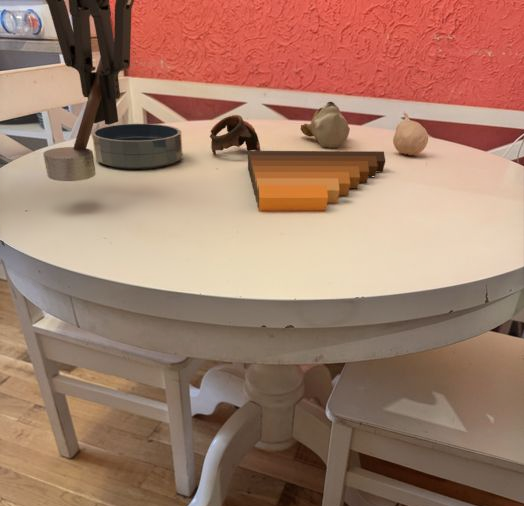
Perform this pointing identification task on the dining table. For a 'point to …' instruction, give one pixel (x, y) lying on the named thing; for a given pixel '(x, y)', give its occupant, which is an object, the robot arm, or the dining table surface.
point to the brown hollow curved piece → (234, 134)
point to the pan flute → (308, 176)
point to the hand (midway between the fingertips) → (104, 122)
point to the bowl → (137, 145)
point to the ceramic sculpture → (328, 126)
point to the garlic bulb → (410, 137)
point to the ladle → (77, 144)
